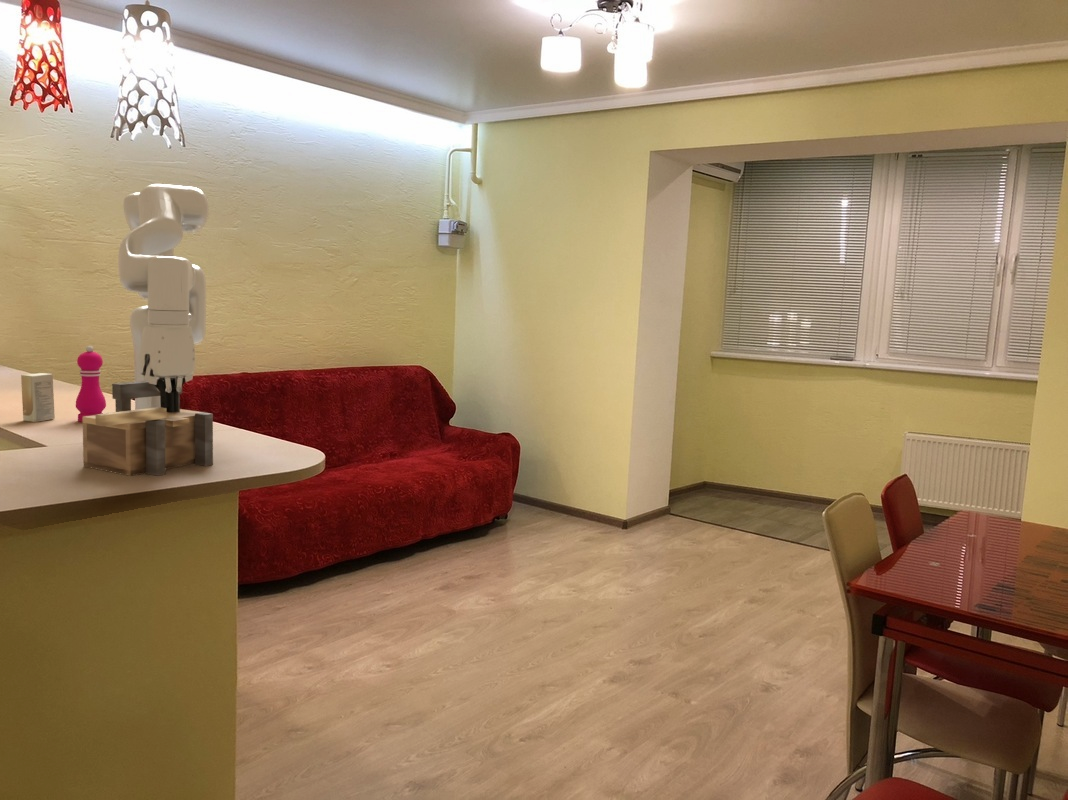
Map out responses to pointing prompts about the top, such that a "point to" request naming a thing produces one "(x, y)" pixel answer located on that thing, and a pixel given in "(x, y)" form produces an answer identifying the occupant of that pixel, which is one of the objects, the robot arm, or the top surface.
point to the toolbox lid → (140, 390)
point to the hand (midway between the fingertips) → (169, 411)
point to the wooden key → (130, 416)
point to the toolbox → (149, 446)
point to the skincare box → (37, 397)
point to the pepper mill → (90, 385)
